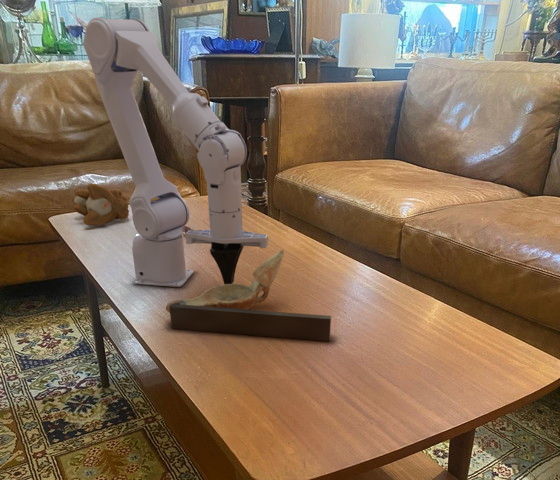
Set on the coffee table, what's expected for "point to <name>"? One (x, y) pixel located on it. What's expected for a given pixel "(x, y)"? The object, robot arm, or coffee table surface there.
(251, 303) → the oil lamp
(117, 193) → the stuffed squirrel
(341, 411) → the coffee table surface
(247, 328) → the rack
